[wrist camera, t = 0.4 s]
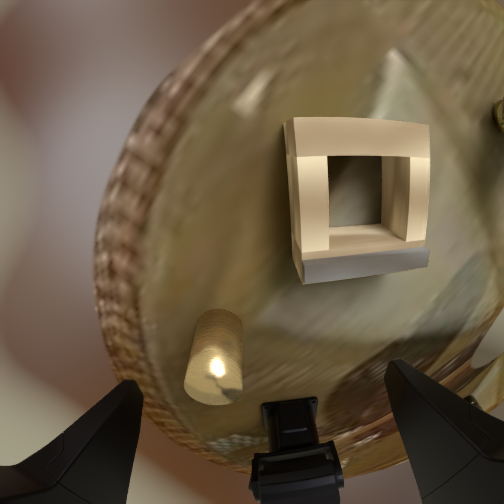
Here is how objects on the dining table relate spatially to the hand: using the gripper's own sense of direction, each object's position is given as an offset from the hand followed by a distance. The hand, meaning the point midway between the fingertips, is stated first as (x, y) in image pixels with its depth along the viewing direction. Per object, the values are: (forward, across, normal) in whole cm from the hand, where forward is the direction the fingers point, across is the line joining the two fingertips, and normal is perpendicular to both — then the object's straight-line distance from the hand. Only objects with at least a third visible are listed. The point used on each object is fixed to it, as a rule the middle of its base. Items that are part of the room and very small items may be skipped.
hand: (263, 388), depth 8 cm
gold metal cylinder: (+13, +4, +7) cm, 15 cm away
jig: (+13, -7, -4) cm, 15 cm away
